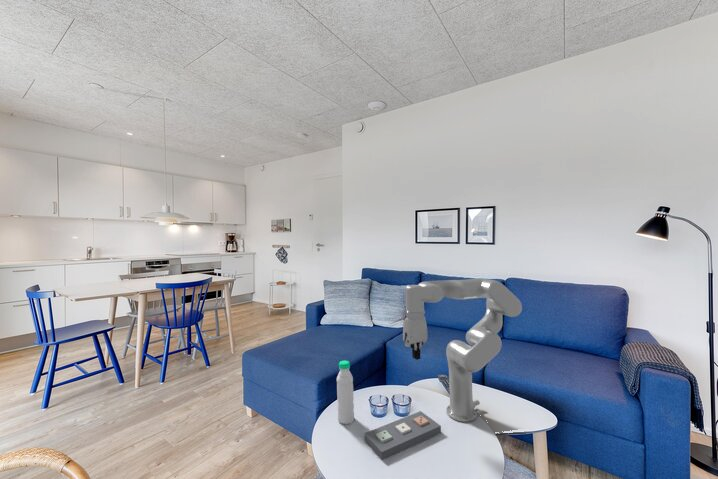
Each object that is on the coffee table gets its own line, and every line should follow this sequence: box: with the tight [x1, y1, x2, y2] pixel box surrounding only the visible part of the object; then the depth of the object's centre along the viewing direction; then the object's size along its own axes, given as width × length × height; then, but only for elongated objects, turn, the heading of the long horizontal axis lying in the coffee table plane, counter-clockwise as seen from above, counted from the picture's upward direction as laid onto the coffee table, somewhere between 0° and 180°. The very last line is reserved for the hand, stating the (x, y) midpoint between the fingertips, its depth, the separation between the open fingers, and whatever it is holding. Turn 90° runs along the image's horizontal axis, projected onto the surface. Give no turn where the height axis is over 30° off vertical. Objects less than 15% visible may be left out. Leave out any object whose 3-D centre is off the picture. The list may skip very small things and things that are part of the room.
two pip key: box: [376, 430, 392, 444], centre depth 113 cm, size 4×4×4 cm
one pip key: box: [395, 423, 411, 435], centre depth 117 cm, size 4×4×4 cm
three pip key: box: [413, 416, 429, 427], centre depth 122 cm, size 4×4×4 cm
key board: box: [364, 410, 442, 461], centre depth 117 cm, size 28×12×3 cm, turn 119°
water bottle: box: [336, 360, 355, 425], centre depth 130 cm, size 7×7×25 cm
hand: (416, 358), depth 126 cm, fingers closed
